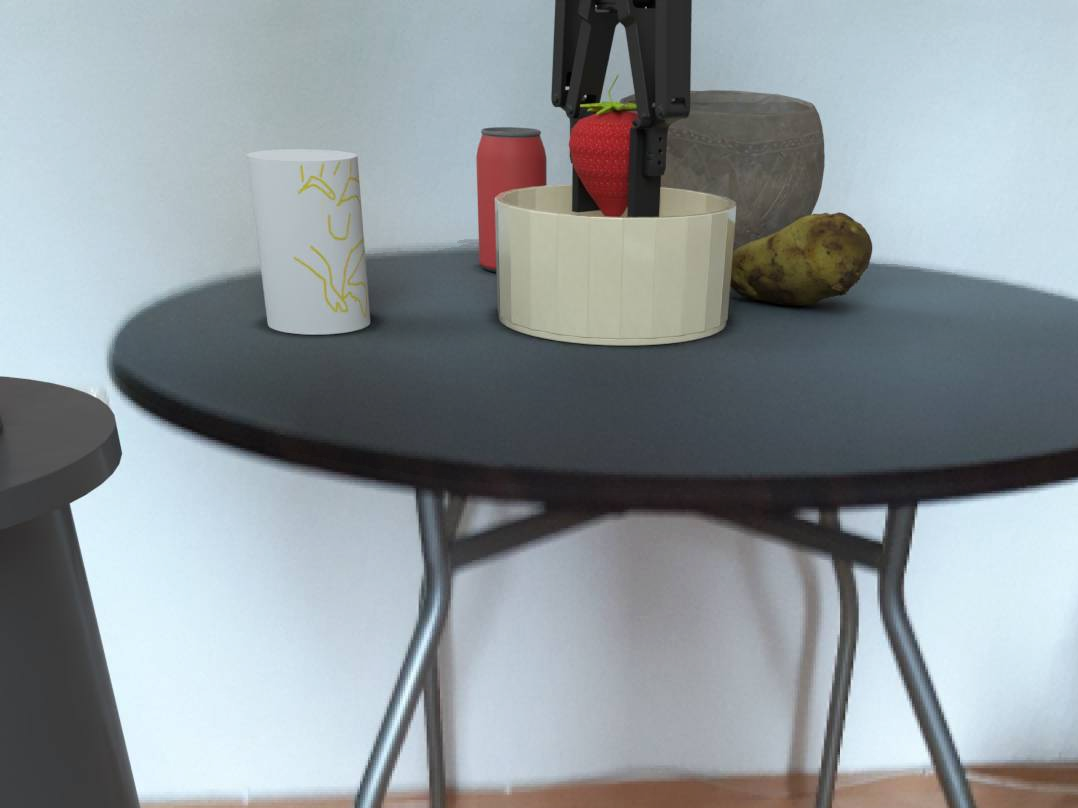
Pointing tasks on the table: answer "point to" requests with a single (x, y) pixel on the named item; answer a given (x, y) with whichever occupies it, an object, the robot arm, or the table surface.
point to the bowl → (748, 156)
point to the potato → (803, 261)
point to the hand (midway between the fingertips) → (614, 215)
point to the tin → (613, 268)
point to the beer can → (504, 176)
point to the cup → (310, 240)
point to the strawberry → (604, 153)
